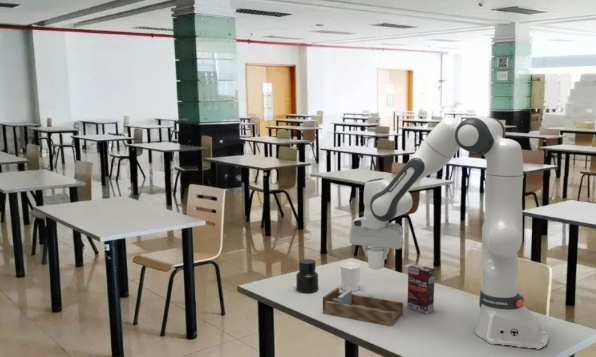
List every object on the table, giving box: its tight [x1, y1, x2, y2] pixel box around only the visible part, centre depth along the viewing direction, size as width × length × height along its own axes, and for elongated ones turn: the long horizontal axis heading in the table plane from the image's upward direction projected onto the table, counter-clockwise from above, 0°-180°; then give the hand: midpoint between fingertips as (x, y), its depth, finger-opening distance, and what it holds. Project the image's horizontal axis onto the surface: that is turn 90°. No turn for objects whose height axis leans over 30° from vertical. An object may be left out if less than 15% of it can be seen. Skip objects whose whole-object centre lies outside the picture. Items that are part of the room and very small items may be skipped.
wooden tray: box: [322, 287, 404, 327], centre depth 211 cm, size 26×12×6 cm, turn 61°
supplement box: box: [406, 264, 436, 314], centre depth 214 cm, size 9×5×16 cm, turn 47°
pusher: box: [332, 290, 353, 305], centre depth 215 cm, size 6×9×5 cm, turn 151°
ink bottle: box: [295, 258, 319, 294], centre depth 237 cm, size 10×9×12 cm
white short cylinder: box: [367, 246, 385, 270], centre depth 219 cm, size 7×7×7 cm
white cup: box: [340, 262, 361, 292], centre depth 237 cm, size 8×8×10 cm
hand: (376, 258), depth 219 cm, fingers closed on white short cylinder, 5 cm apart
